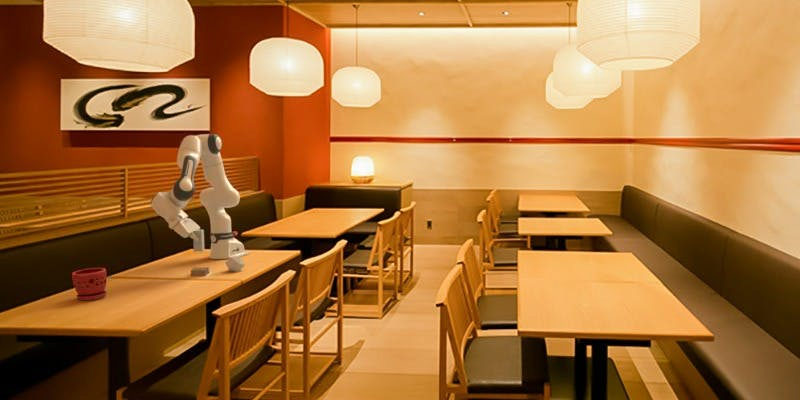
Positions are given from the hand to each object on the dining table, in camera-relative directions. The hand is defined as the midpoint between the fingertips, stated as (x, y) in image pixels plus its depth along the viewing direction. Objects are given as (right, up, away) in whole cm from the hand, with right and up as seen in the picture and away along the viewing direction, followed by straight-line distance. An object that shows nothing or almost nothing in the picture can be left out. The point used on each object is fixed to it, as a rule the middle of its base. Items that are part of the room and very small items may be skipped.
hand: (200, 239), depth 321 cm
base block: (0, -17, +2) cm, 17 cm away
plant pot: (-34, -23, -41) cm, 57 cm away
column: (-1, -5, 0) cm, 5 cm away
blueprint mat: (0, -17, +3) cm, 18 cm away
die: (+15, -17, +10) cm, 24 cm away
